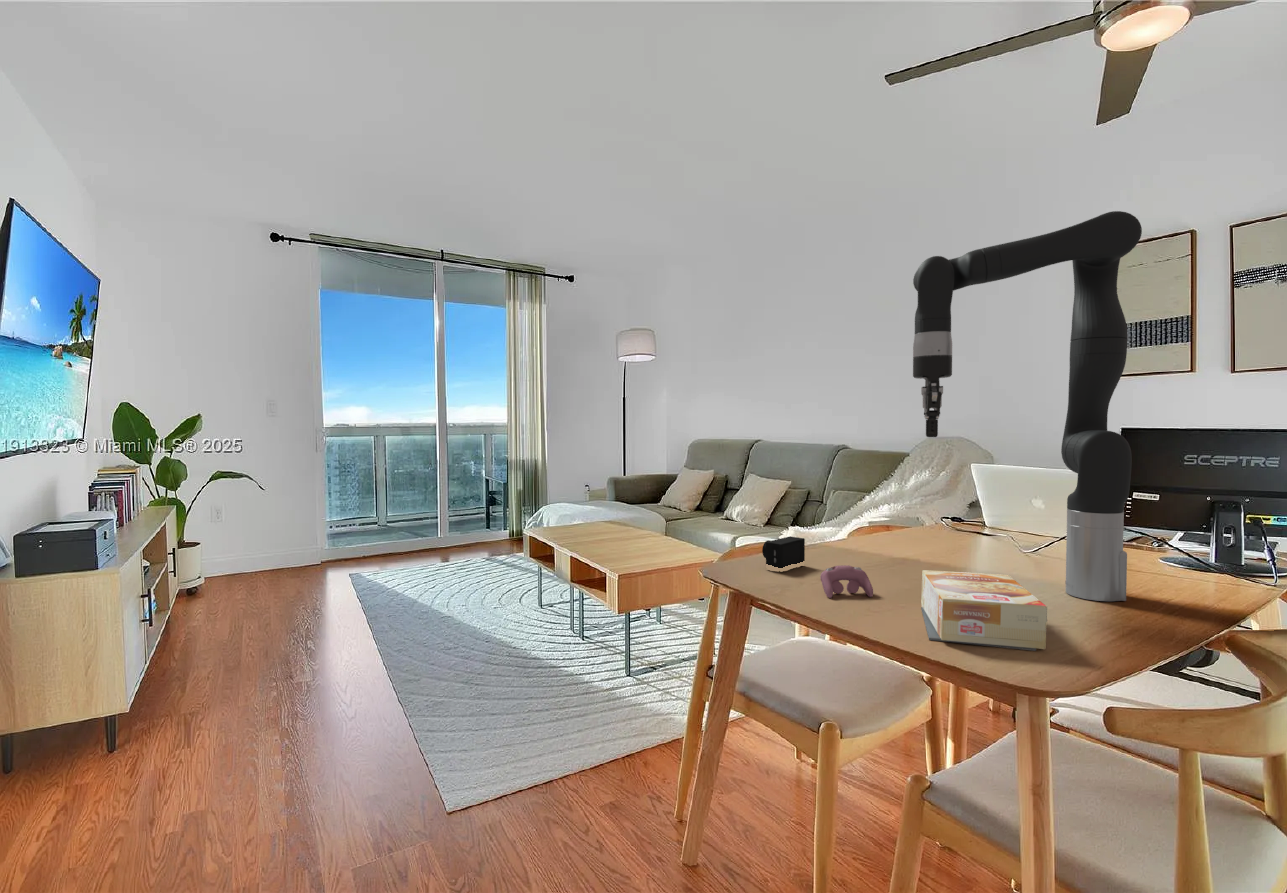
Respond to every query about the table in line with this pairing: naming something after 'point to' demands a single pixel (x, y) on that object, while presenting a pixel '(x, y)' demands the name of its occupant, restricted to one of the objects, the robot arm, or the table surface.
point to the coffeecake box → (983, 609)
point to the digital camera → (784, 551)
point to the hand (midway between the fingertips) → (931, 436)
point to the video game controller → (845, 572)
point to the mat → (934, 636)
